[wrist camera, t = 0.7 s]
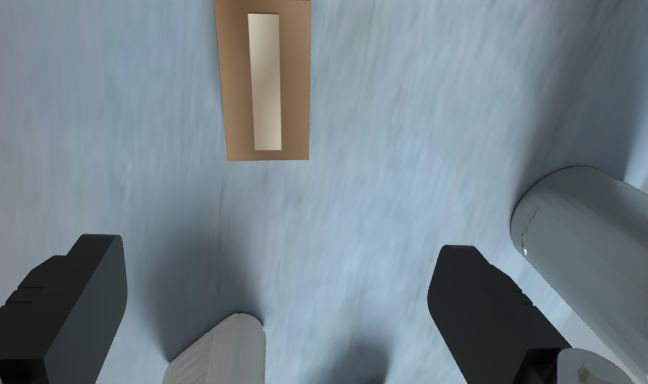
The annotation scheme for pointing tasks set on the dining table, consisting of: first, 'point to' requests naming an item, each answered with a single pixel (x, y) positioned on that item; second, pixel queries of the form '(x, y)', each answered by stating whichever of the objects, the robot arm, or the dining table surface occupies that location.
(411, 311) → the dining table surface
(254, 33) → the card box
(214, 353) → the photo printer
